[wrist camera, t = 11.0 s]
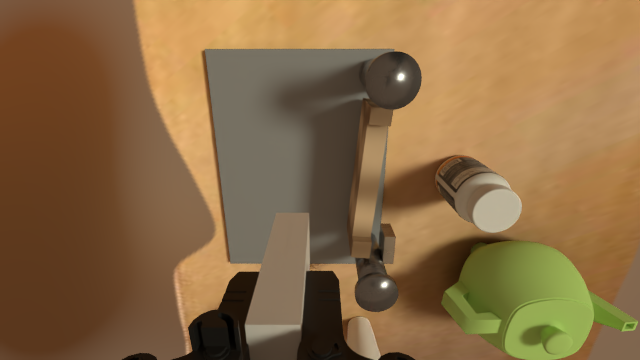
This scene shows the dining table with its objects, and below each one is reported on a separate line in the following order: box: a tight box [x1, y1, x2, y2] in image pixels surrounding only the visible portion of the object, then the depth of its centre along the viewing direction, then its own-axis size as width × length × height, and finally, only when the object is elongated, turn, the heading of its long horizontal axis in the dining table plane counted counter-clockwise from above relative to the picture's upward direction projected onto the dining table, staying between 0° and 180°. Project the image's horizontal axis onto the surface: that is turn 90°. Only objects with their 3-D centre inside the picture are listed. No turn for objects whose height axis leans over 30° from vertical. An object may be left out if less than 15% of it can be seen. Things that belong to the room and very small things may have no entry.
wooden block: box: [347, 98, 393, 258], centre depth 35 cm, size 16×2×6 cm, turn 175°
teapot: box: [441, 241, 638, 360], centre depth 39 cm, size 20×13×13 cm
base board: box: [205, 49, 394, 264], centre depth 39 cm, size 27×20×1 cm
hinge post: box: [359, 52, 422, 110], centre depth 31 cm, size 4×4×11 cm
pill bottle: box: [435, 155, 522, 233], centre depth 35 cm, size 6×6×10 cm
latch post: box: [355, 224, 398, 312], centre depth 38 cm, size 6×5×11 cm
